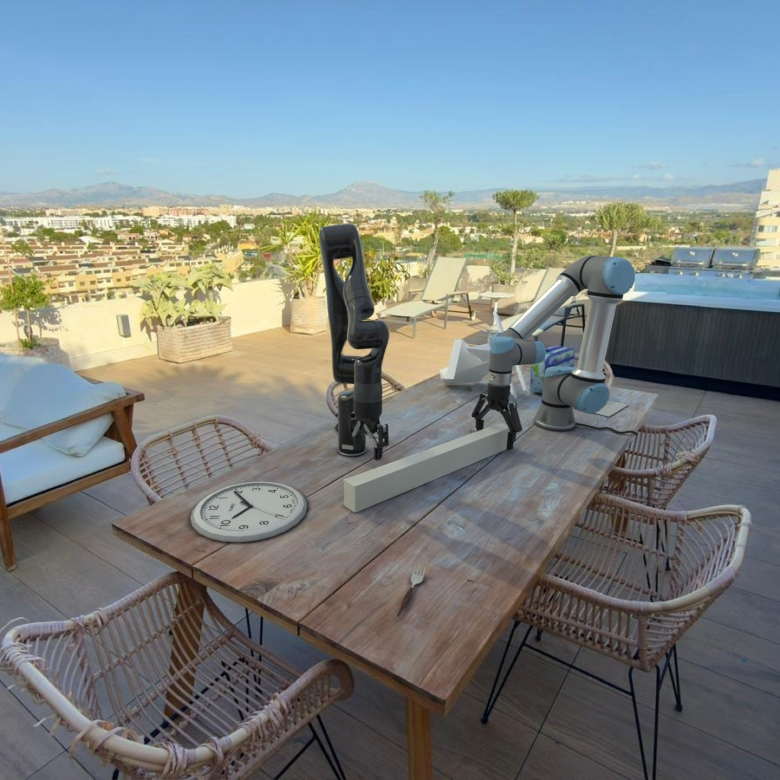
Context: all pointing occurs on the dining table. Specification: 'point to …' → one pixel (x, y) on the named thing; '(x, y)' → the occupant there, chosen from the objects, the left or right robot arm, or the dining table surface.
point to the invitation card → (611, 408)
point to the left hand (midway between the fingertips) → (367, 454)
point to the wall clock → (248, 512)
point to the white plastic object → (474, 363)
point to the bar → (422, 467)
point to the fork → (415, 580)
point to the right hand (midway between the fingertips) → (494, 443)
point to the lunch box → (550, 365)
